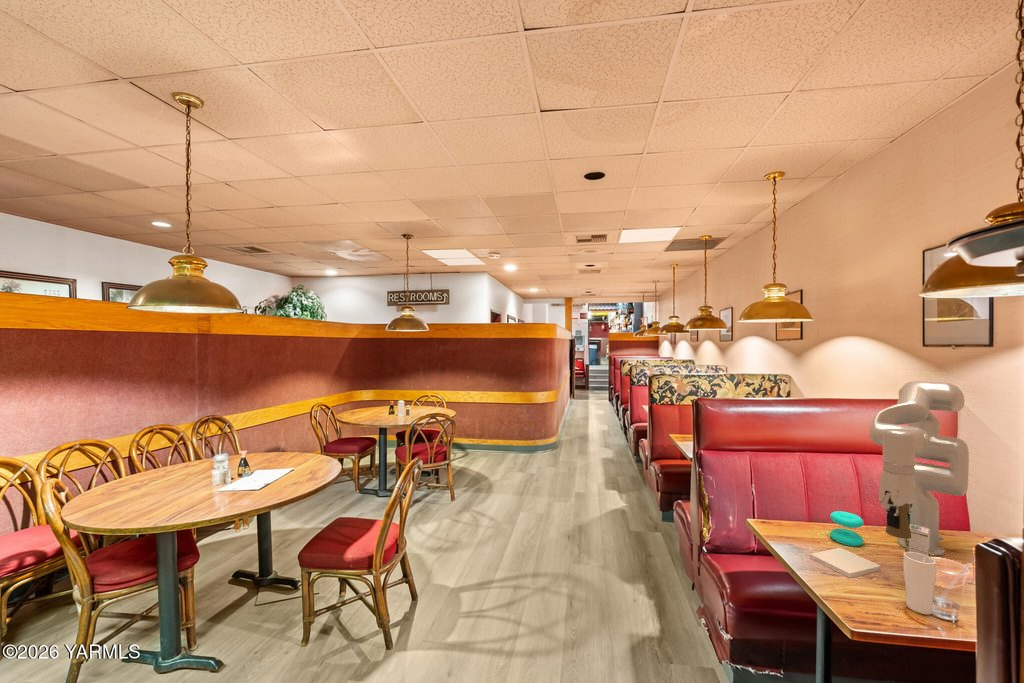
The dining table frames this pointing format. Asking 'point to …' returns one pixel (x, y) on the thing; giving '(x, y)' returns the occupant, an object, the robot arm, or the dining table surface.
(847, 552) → the ceramic tile
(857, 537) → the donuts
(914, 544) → the syrup box
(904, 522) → the cork
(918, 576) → the white tall cup
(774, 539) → the dining table surface
